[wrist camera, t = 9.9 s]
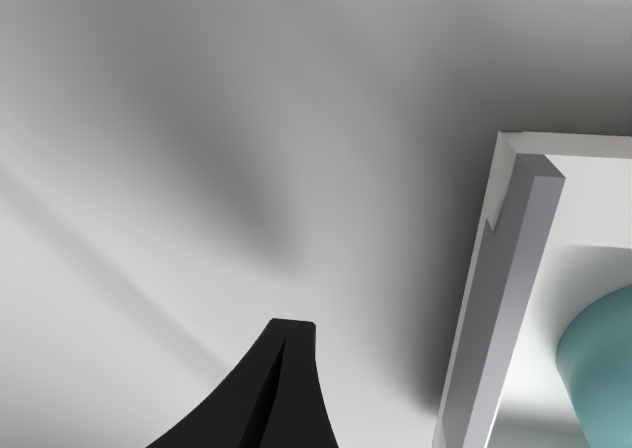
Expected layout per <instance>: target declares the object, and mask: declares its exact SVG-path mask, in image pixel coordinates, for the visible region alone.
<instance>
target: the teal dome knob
mask: <svg viewBox="0 0 632 448" xmlns="http://www.w3.org/2000/svg"><path fill="white" fill-rule="evenodd" d="M556 362H557V368H558V372H559V374H560V377H561V379H562V381H563V384H564V386H565V389H566V391H567V394H568V396H569V398H570V401H571V403H572V406H573V408H574V410H575V413H576V415H577V418H578V420H579V423H580V425H581V427H582V430H583V432H584V435H585V437H586V439H587V441H588V443H589V445H590V447H591V448H632V286H629V287H626V288H623V289H620V290H618V291H615V292H613V293H611V294H609V295H607V296H605V297H603V298H601V299H599V300H598V301H596V302H595V303H593V304H591V305H590V306H588V307H587V308H586V309H585V310H583V311H582V312H581V313H580V314H579V315H578V316H577V317H576V318H575V319H574V320H573V321H572V322H571V323H570V324H569V326H568V327H567V328H566V330H565V331H564V333H563V335H562V337H561V339H560V341H559V344H558V347H557V354H556Z"/></svg>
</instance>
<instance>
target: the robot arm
mask: <svg viewBox="0 0 632 448" xmlns="http://www.w3.org/2000/svg"><path fill="white" fill-rule="evenodd" d="M315 344H316V325H315V324H314V323H313V322H309V321H298V320H287V319H277V318H273V319H271V320H270V321H269V323H268V324H267V326H266V327H265V329H264V330H263V332H262V333H261V335H260V336H259V337H258V339H257V340H256V341H255V343H254V344H253V345H252V347H251V348H250V349H249V351H248V352H247V353H246V354H245V356H244V357H243V358H242V359H241V360H240V362H239V363H238V364H237V365H236V367H235V368H234V369H233V370H232V371H231V372H230V373H229V374H228V375H227V377H226V378H225V379H224V380H223V381H222V382H221V383H220V384H219V385H218V386H217V387H216V388H215V389H214V391H213V392H212V393H211V394H210V395H209V396H208V397H206V398H205V399H204V400H203V401H202V402H201V403H200V404H199V405H198V406H197V407H196V408H195V409H194V410H193V411H191V412H190V413H189V414H188V415H187V416H186V417H184V418H183V419H182V420H181V421H180V422H178V423H177V424H176V425H175V426H174V427H172V428H171V429H170V430H169V431H167V432H166V433H165V434H164V435H162V436H161V437H160V438H158V439H157V440H155V441H154V442H153V443H151V444H150V445H148V446H147V447H146V448H339V447H338V445H337V442H336V439H335V436H334V433H333V431H332V428H331V424H330V421H329V418H328V415H327V412H326V408H325V404H324V401H323V397H322V393H321V388H320V384H319V379H318V373H317V367H316V361H315Z"/></svg>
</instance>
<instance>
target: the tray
mask: <svg viewBox="0 0 632 448" xmlns="http://www.w3.org/2000/svg"><path fill="white" fill-rule="evenodd" d="M629 286H632V137H628V136H607V135H586V134H566V133H545V132H524V131H504V130H499V132H498V137H497V142H496V146H495V151H494V156H493V160H492V165H491V170H490V174H489V179H488V184H487V188H486V193H485V198H484V202H483V207H482V212H481V216H480V221H479V226H478V230H477V235H476V240H475V244H474V249H473V254H472V258H471V263H470V268H469V272H468V277H467V282H466V286H465V291H464V296H463V300H462V305H461V310H460V314H459V319H458V324H457V329H456V333H455V338H454V343H453V347H452V352H451V357H450V361H449V366H448V371H447V375H446V380H445V385H444V389H443V394H442V399H441V403H440V408H439V413H438V417H437V422H436V427H435V431H434V436H433V441H432V448H591V447H590V445H589V443H588V441H587V439H586V437H585V435H584V432H583V430H582V427H581V425H580V423H579V420H578V418H577V415H576V413H575V410H574V408H573V406H572V403H571V401H570V398H569V396H568V394H567V391H566V389H565V386H564V384H563V381H562V379H561V377H560V374H559V372H558V368H557V362H556V354H557V347H558V344H559V341H560V339H561V337H562V335H563V333H564V331H565V330H566V328H567V327H568V326H569V324H570V323H571V322H572V321H573V320H574V319H575V318H576V317H577V316H578V315H579V314H580V313H581V312H582V311H583V310H585V309H586V308H587V307H588V306H590V305H591V304H593V303H595V302H596V301H598V300H599V299H601V298H603V297H605V296H607V295H609V294H611V293H613V292H615V291H618V290H620V289H623V288H626V287H629Z"/></svg>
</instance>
